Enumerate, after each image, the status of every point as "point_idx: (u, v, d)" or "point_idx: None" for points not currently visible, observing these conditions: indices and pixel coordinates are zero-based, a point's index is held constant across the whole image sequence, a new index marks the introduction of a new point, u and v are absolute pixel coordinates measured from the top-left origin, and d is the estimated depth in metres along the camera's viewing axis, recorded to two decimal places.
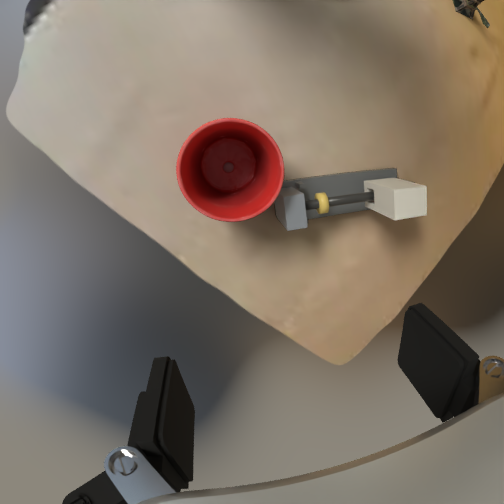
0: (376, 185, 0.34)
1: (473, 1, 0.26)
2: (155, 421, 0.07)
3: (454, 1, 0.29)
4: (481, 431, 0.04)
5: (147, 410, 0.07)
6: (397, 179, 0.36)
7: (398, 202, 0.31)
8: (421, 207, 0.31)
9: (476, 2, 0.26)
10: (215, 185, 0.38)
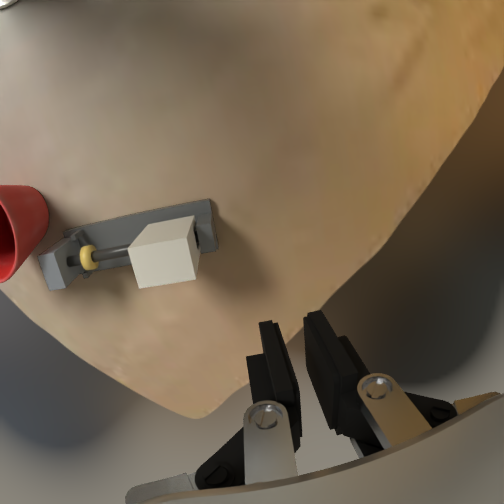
0: None
1: None
2: (288, 372, 0.08)
3: None
4: (481, 431, 0.04)
5: (275, 365, 0.09)
6: (187, 220, 0.28)
7: (139, 265, 0.23)
8: (182, 268, 0.24)
9: None
10: None
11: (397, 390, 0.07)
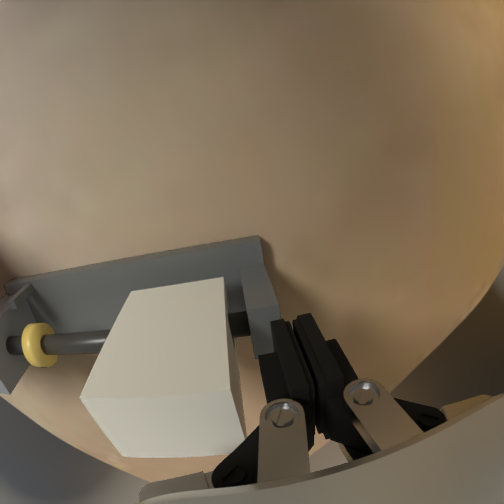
0: None
1: None
2: (302, 370, 0.08)
3: None
4: (481, 431, 0.04)
5: (289, 363, 0.09)
6: (213, 294, 0.13)
7: (114, 427, 0.08)
8: (219, 439, 0.09)
9: None
10: None
11: (385, 395, 0.07)
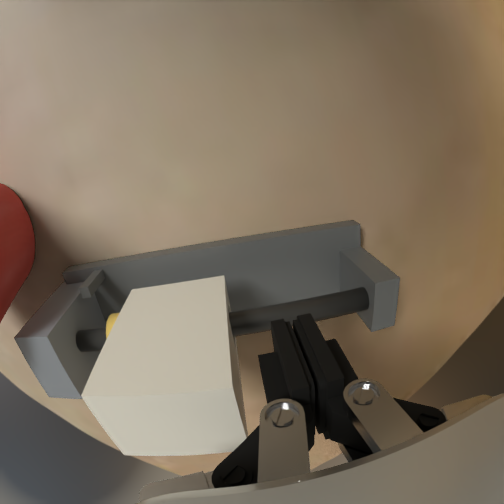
0: None
1: None
2: (303, 370, 0.08)
3: None
4: (481, 431, 0.04)
5: (289, 363, 0.09)
6: (214, 293, 0.13)
7: (115, 425, 0.08)
8: (220, 437, 0.09)
9: None
10: None
11: (385, 395, 0.07)
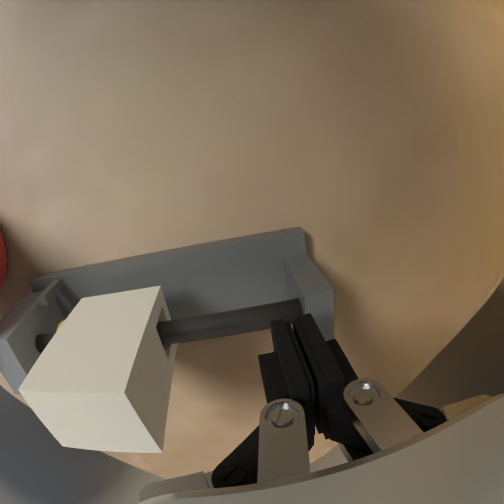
0: None
1: None
2: (302, 370, 0.08)
3: None
4: (481, 431, 0.04)
5: (289, 363, 0.09)
6: (145, 303, 0.14)
7: (48, 418, 0.08)
8: (131, 437, 0.09)
9: None
10: None
11: (385, 395, 0.07)
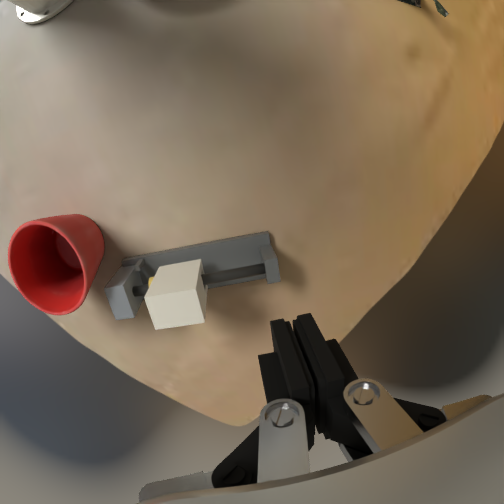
0: (153, 280, 0.30)
1: None
2: (302, 370, 0.08)
3: None
4: (481, 431, 0.04)
5: (289, 363, 0.09)
6: (195, 265, 0.32)
7: (155, 311, 0.27)
8: (193, 314, 0.27)
9: None
10: (70, 263, 0.34)
11: (385, 395, 0.07)
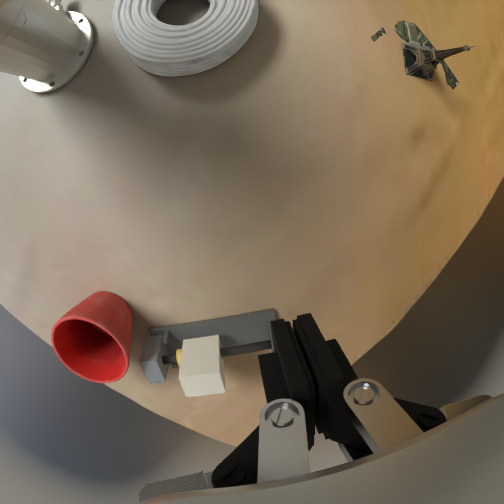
0: (181, 356, 0.36)
1: (431, 59, 0.28)
2: (302, 370, 0.08)
3: (406, 58, 0.32)
4: (481, 431, 0.04)
5: (289, 363, 0.09)
6: (215, 342, 0.38)
7: (186, 385, 0.33)
8: (216, 387, 0.33)
9: (435, 60, 0.28)
10: (101, 330, 0.40)
11: (385, 395, 0.07)
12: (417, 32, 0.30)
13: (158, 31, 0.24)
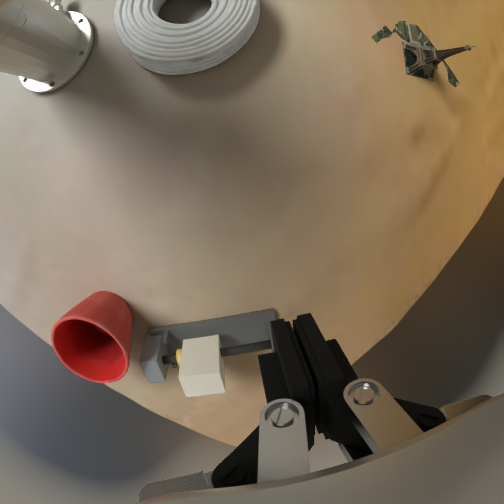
0: (181, 356, 0.36)
1: (432, 59, 0.28)
2: (302, 370, 0.08)
3: (407, 58, 0.32)
4: (481, 431, 0.04)
5: (289, 363, 0.09)
6: (214, 342, 0.38)
7: (186, 385, 0.33)
8: (216, 387, 0.33)
9: (436, 60, 0.28)
10: (101, 330, 0.40)
11: (385, 395, 0.07)
12: (418, 32, 0.30)
13: (159, 30, 0.24)
